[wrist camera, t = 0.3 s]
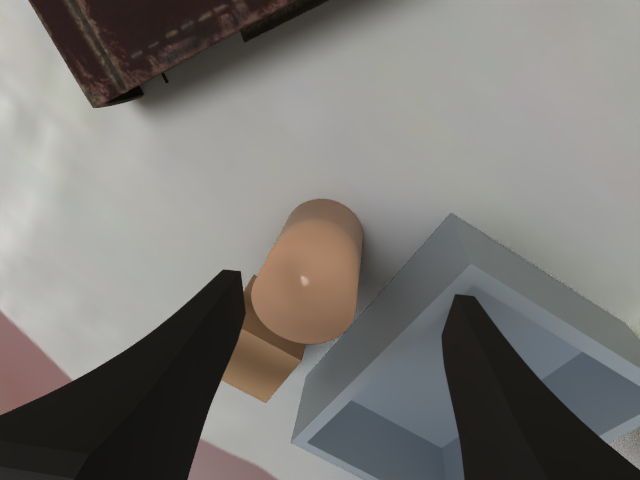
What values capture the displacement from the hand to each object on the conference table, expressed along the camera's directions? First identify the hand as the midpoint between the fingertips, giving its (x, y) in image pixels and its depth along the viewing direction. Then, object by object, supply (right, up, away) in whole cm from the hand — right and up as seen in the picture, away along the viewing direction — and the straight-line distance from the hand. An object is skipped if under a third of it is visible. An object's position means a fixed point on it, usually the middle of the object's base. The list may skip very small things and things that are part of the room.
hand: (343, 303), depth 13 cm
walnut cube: (-5, -3, +15) cm, 16 cm away
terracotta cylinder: (-1, +2, +11) cm, 11 cm away
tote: (+8, -6, +14) cm, 17 cm away
